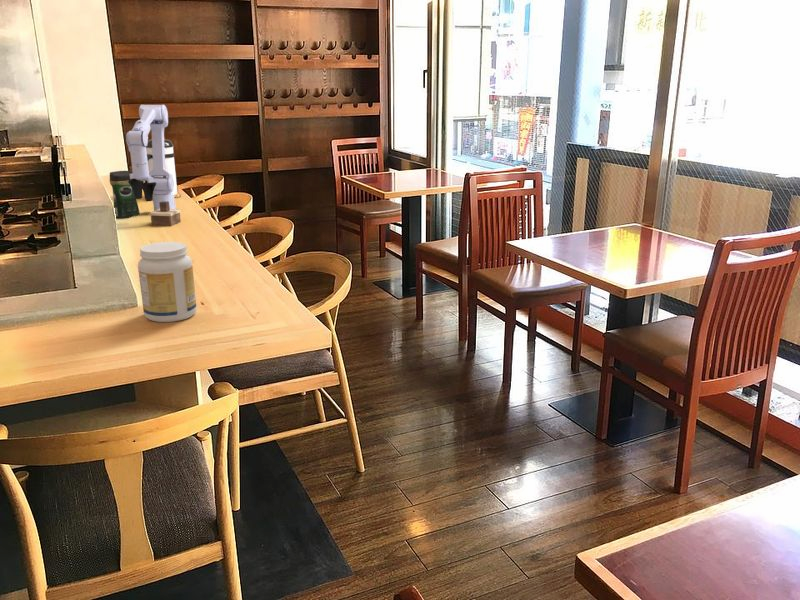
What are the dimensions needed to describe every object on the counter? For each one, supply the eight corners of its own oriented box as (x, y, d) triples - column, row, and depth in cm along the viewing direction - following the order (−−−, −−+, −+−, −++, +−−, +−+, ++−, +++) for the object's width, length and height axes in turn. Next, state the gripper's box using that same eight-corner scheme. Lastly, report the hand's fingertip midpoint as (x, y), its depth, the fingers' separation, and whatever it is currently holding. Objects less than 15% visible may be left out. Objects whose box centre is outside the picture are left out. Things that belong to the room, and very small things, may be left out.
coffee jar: (136, 213, 284) (131, 169, 278) (141, 216, 278) (136, 171, 272) (112, 216, 279) (106, 170, 273) (116, 219, 272) (110, 172, 267)
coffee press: (144, 197, 323) (136, 132, 314) (178, 194, 330) (172, 131, 321) (147, 202, 309) (140, 135, 299) (183, 200, 315) (177, 134, 306)
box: (161, 222, 266) (160, 211, 265) (180, 223, 265) (179, 212, 264) (151, 226, 259) (150, 215, 257) (171, 227, 258) (170, 215, 256)
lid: (160, 212, 265) (158, 199, 264) (181, 213, 264) (180, 200, 263) (149, 217, 257) (147, 203, 255) (171, 217, 256) (169, 204, 254)
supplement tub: (178, 303, 171) (171, 238, 165) (207, 314, 163) (201, 245, 158) (133, 316, 162) (125, 247, 156) (162, 327, 154) (154, 255, 149)
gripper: (120, 162, 255) (124, 198, 259) (139, 166, 246) (143, 203, 250) (138, 161, 260) (142, 196, 264) (157, 164, 250) (161, 201, 255)
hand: (144, 199), depth 257 cm, fingers open, 7 cm apart
